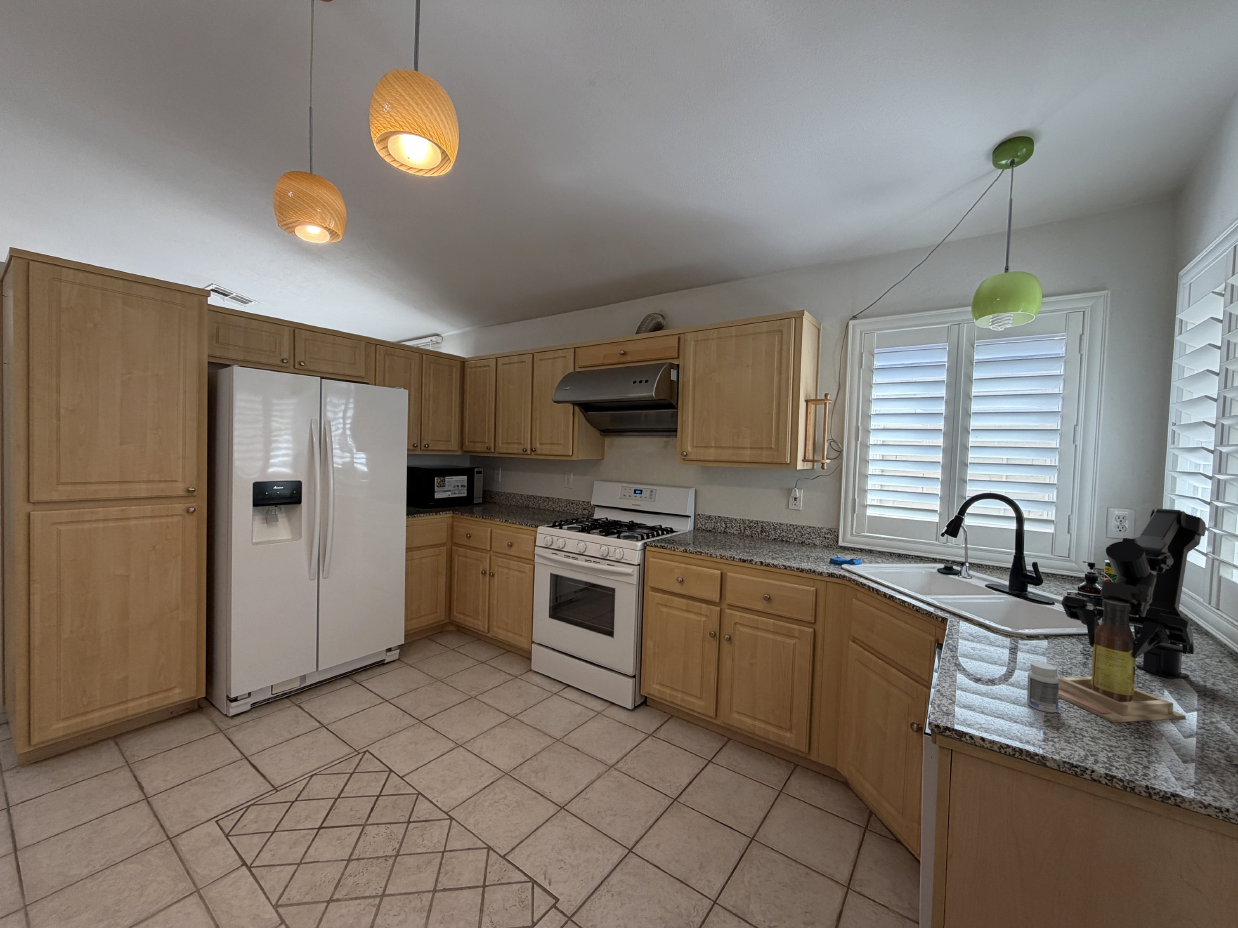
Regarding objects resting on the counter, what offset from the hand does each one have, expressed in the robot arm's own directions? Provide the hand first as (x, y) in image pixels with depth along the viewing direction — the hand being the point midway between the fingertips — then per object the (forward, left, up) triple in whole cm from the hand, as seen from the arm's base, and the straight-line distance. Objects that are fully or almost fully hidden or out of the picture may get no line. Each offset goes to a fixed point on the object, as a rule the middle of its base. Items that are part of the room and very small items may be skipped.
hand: (1111, 651), depth 99 cm
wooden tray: (-1, 0, -11) cm, 11 cm away
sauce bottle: (-1, -1, -10) cm, 10 cm away
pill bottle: (+16, 0, -11) cm, 20 cm away
